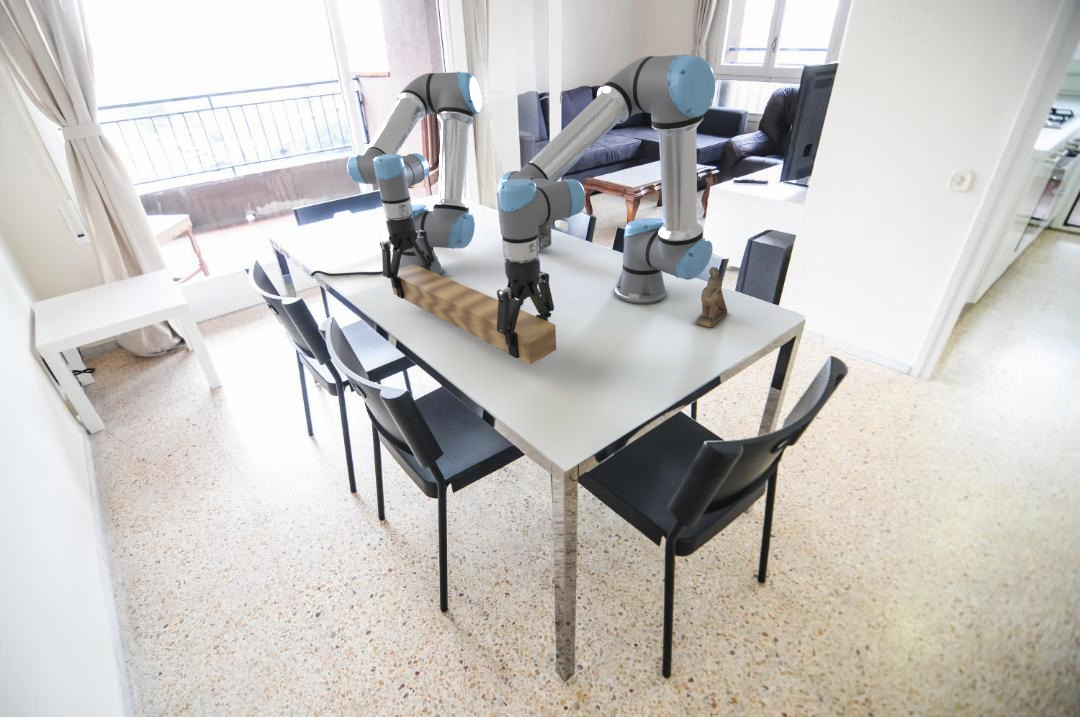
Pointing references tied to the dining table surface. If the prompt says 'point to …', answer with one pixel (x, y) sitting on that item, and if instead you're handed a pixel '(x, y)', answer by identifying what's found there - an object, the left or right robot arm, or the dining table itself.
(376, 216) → the dining table surface
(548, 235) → the concrete block
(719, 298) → the brown carved statuette
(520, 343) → the brown striped wooden beam
